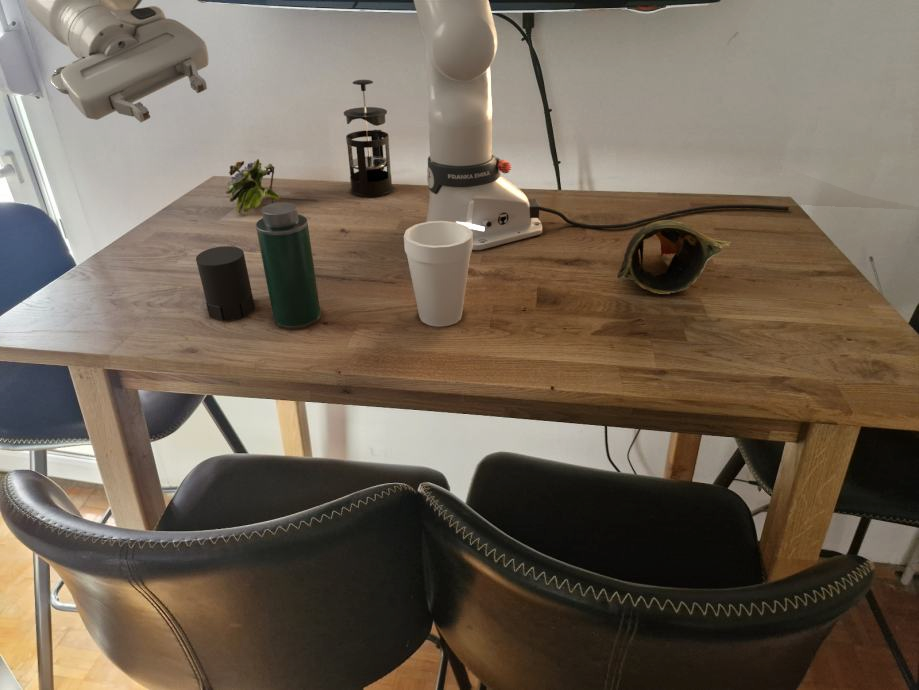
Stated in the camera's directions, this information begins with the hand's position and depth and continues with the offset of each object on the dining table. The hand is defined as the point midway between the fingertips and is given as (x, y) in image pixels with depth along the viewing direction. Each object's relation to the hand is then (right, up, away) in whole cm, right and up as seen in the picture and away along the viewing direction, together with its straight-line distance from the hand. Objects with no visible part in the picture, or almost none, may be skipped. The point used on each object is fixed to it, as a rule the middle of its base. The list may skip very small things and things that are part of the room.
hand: (174, 101), depth 91 cm
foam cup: (+37, -30, +5) cm, 48 cm away
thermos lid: (+6, -29, +7) cm, 30 cm away
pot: (+73, -24, +14) cm, 78 cm away
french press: (+21, 0, +53) cm, 57 cm away
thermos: (+16, -30, +5) cm, 35 cm away
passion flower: (-2, -5, +45) cm, 46 cm away
